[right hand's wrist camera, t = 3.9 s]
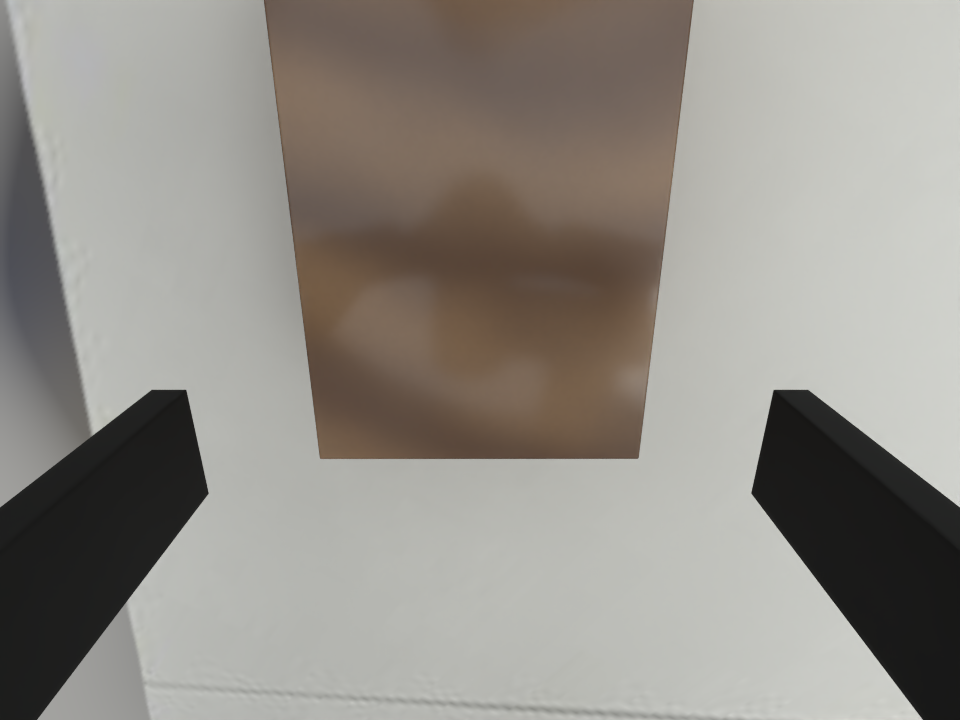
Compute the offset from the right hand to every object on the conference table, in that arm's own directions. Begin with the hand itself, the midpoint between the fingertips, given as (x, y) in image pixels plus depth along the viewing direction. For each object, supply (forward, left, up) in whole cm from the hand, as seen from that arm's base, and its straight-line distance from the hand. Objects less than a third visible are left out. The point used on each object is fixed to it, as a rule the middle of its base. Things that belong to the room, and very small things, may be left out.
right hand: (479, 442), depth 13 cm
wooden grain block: (+2, +3, -15) cm, 15 cm away
